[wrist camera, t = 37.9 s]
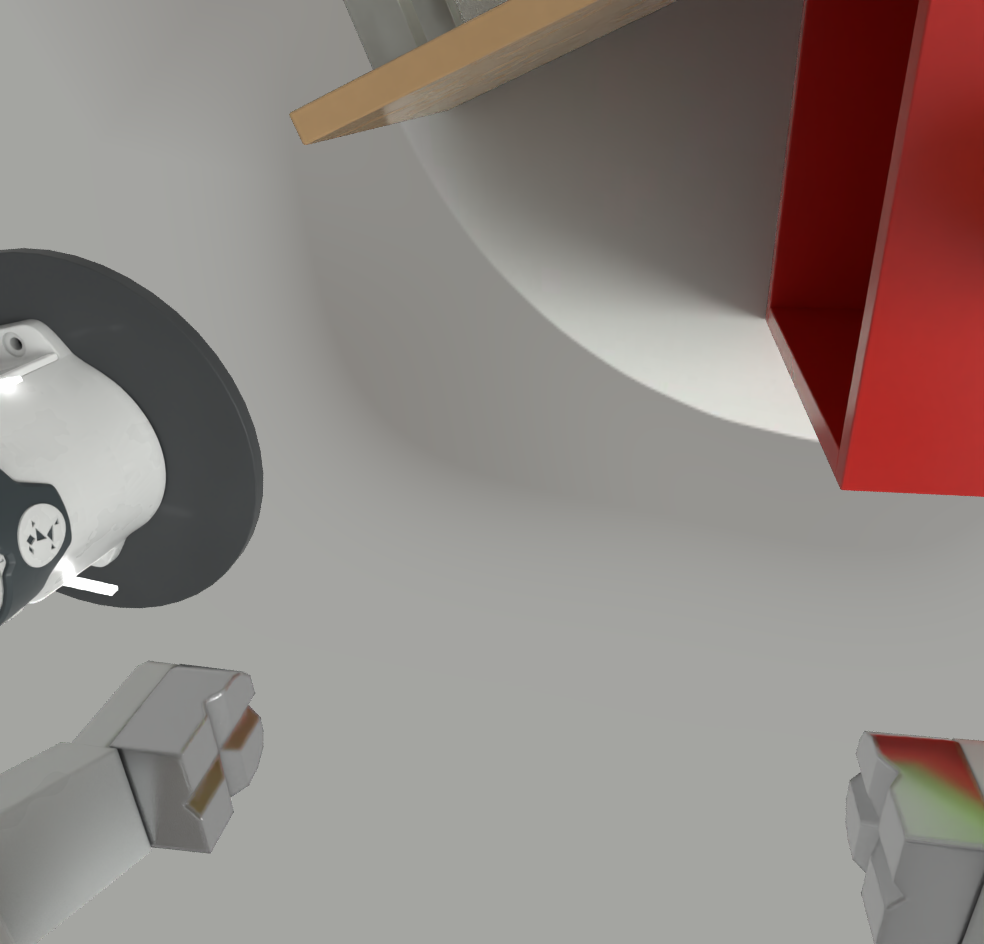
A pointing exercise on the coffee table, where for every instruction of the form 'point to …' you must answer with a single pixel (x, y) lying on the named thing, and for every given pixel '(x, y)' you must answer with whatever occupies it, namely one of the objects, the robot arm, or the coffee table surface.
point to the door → (452, 55)
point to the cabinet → (886, 242)
